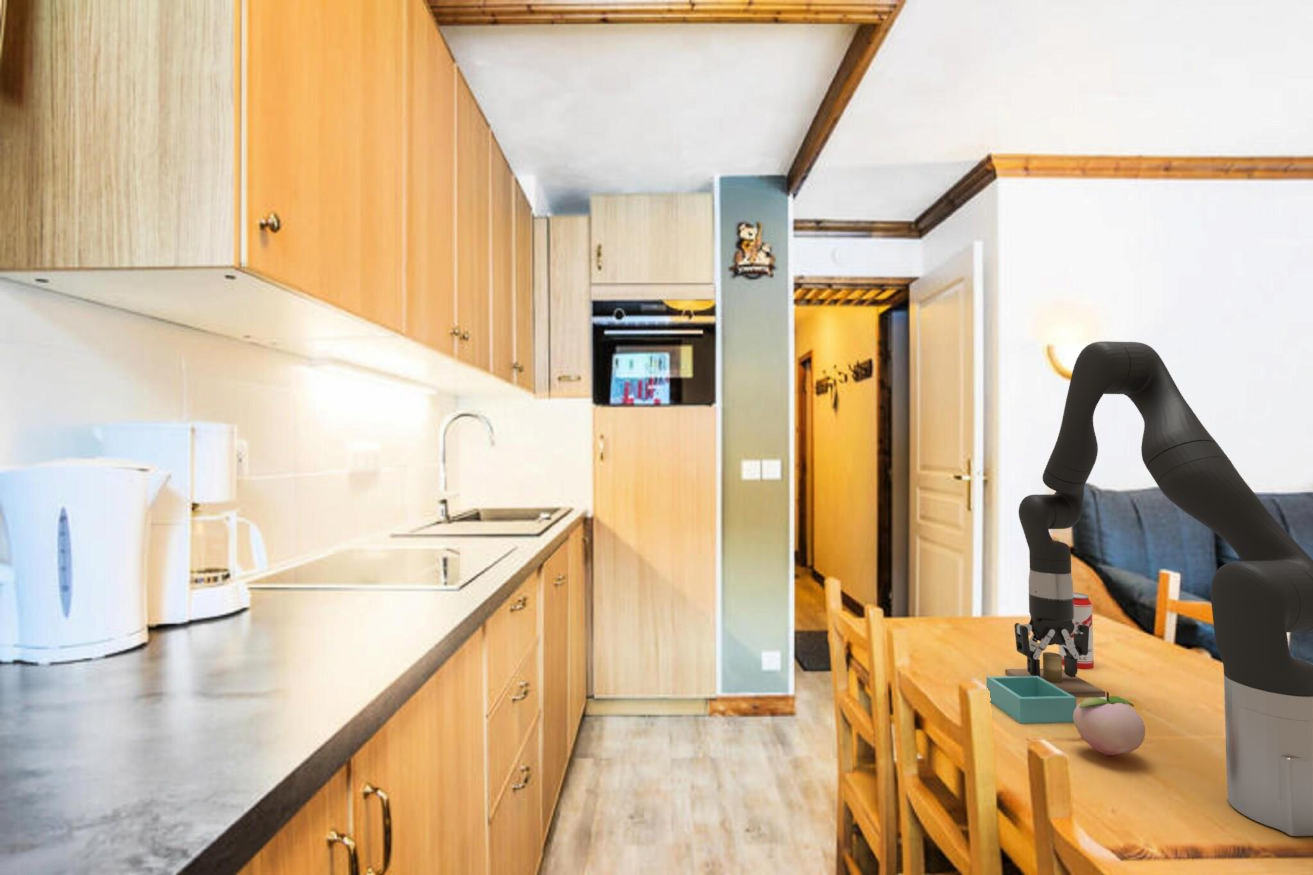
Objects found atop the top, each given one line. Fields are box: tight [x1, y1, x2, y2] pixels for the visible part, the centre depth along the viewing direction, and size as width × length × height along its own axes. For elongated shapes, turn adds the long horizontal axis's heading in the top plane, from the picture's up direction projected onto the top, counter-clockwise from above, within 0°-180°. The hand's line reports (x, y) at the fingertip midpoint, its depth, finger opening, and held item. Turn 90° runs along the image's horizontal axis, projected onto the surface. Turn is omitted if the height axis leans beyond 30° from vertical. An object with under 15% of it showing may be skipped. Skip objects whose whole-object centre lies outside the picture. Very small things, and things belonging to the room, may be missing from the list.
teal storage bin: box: [986, 675, 1078, 725], centre depth 108 cm, size 10×10×5 cm
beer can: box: [1058, 591, 1095, 670], centre depth 130 cm, size 6×6×16 cm
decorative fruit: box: [1073, 691, 1146, 757], centre depth 93 cm, size 9×8×10 cm
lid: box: [1004, 651, 1106, 698], centre depth 119 cm, size 12×12×6 cm
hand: (1052, 675), depth 119 cm, fingers open, 6 cm apart
